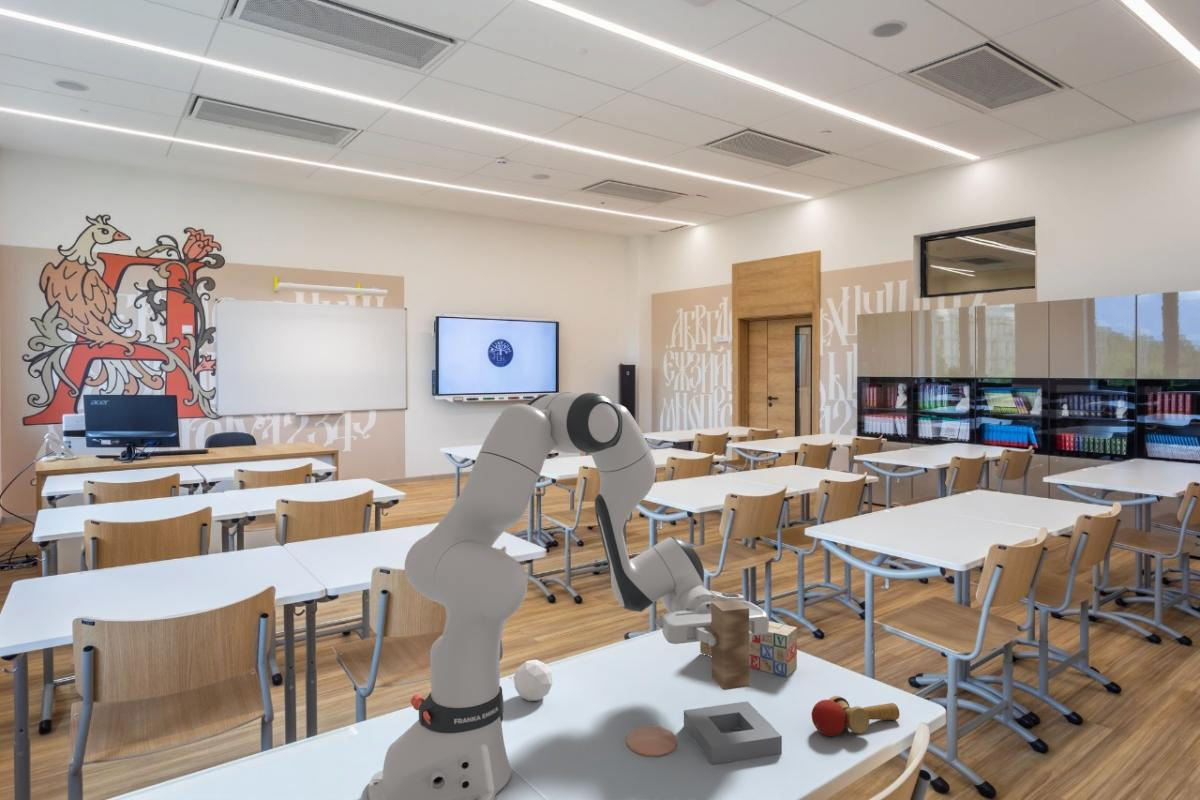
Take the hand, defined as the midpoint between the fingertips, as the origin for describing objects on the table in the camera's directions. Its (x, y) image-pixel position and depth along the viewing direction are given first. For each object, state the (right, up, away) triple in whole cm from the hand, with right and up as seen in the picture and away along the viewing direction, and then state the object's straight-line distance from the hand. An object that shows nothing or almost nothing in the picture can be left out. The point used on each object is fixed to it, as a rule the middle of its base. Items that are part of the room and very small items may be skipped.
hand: (732, 639), depth 121 cm
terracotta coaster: (-14, -19, +1) cm, 23 cm away
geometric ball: (-37, -18, +18) cm, 45 cm away
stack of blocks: (+10, -17, +35) cm, 40 cm away
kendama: (+24, -18, +6) cm, 31 cm away
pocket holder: (0, -18, +2) cm, 19 cm away
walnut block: (0, -8, +1) cm, 8 cm away
